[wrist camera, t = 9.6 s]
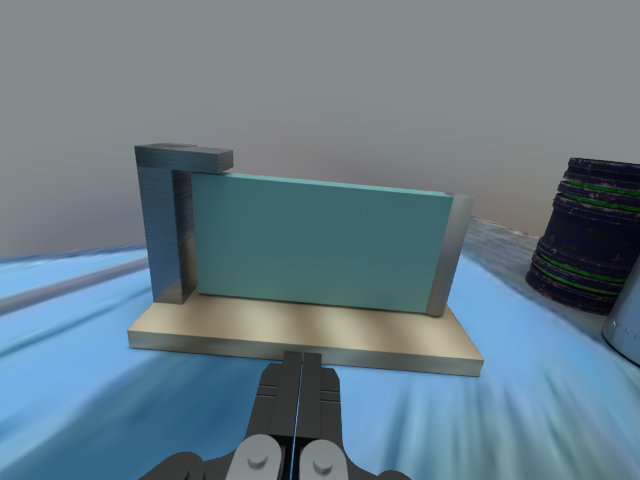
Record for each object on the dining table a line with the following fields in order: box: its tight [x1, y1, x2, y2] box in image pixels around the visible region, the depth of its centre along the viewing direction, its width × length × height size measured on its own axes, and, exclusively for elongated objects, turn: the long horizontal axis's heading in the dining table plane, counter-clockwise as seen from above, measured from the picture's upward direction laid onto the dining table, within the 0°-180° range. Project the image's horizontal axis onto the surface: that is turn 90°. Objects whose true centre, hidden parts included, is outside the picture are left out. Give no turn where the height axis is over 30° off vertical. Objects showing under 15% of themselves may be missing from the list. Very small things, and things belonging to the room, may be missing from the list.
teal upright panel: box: [191, 172, 475, 316], centre depth 25 cm, size 21×2×10 cm, turn 89°
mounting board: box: [127, 286, 484, 377], centre depth 30 cm, size 25×18×2 cm
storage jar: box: [526, 158, 640, 316], centre depth 33 cm, size 10×10×15 cm
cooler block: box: [135, 143, 233, 305], centre depth 28 cm, size 20×12×12 cm, turn 89°
